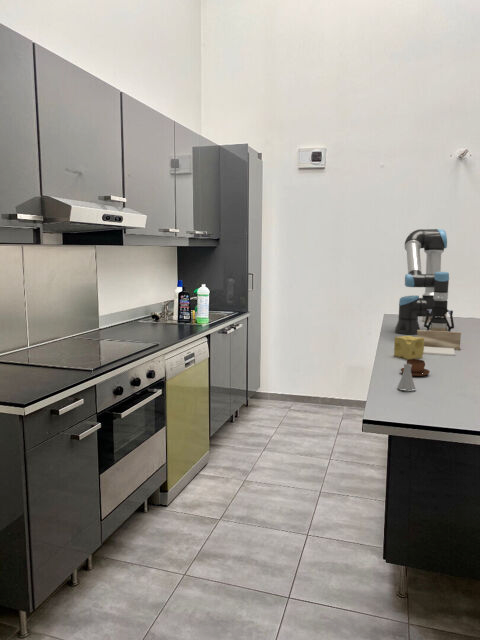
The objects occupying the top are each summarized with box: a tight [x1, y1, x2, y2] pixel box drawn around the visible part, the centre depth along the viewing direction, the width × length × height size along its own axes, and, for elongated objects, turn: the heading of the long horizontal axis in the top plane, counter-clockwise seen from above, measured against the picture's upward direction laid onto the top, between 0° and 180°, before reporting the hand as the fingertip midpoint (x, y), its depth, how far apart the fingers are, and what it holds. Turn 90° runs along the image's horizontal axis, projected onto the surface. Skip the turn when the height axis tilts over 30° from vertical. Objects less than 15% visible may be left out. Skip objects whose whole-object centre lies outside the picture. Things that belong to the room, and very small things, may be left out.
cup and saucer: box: [400, 358, 430, 377], centre depth 229 cm, size 12×12×6 cm
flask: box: [397, 363, 416, 390], centre depth 205 cm, size 7×7×10 cm
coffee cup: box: [430, 317, 448, 332], centre depth 293 cm, size 9×9×15 cm
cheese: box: [393, 335, 424, 360], centre depth 263 cm, size 10×11×10 cm
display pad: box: [423, 346, 456, 357], centre depth 276 cm, size 16×16×1 cm
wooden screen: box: [416, 329, 462, 351], centre depth 285 cm, size 6×22×9 cm, turn 70°
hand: (438, 340), depth 294 cm, fingers closed on coffee cup, 8 cm apart
